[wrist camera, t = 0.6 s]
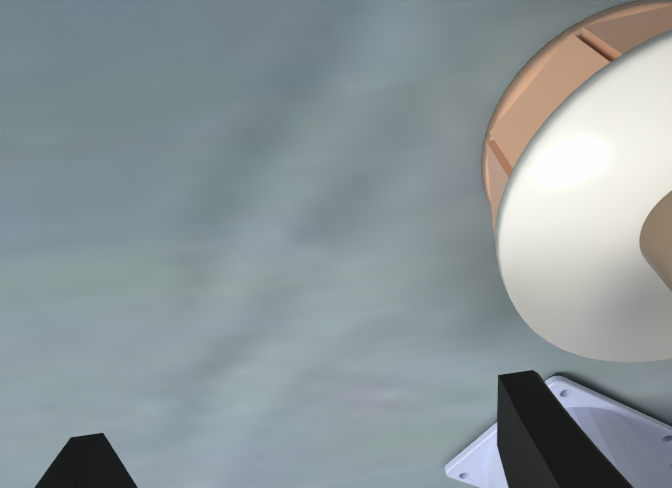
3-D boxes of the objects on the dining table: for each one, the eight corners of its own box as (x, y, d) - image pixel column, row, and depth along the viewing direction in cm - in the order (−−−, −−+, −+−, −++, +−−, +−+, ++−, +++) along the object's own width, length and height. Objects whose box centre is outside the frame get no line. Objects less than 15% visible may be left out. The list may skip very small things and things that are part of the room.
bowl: (819, 98, 18) (931, 155, 15) (607, 286, 23) (659, 363, 19) (633, -71, 15) (726, -43, 12) (426, 185, 19) (453, 257, 16)
